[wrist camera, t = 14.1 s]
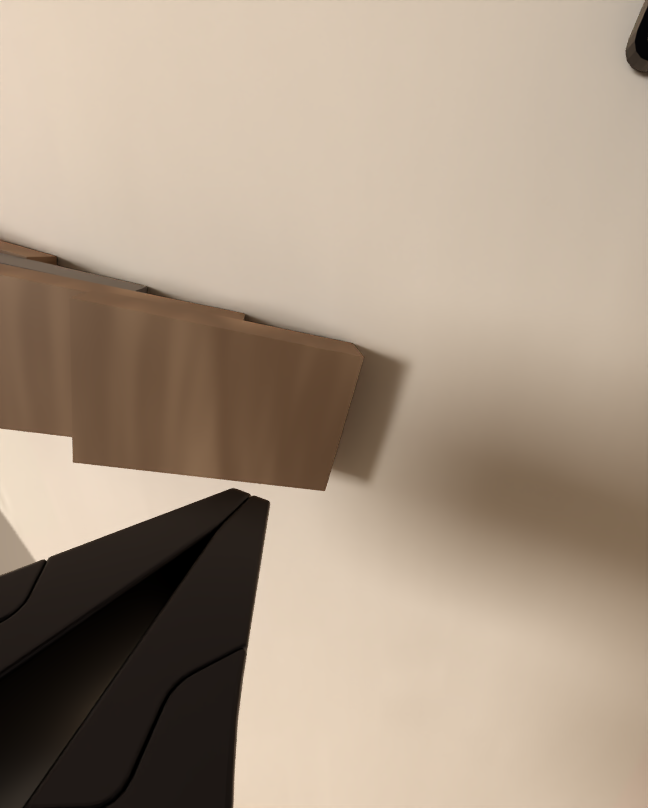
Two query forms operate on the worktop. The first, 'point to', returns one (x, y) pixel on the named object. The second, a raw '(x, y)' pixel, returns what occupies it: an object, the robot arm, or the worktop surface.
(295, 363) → the domino
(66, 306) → the domino
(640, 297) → the worktop surface
